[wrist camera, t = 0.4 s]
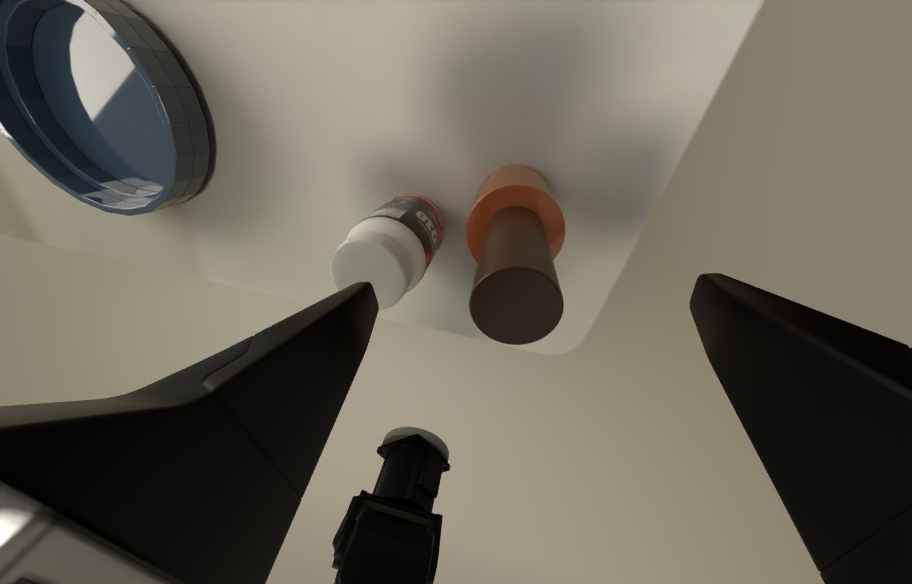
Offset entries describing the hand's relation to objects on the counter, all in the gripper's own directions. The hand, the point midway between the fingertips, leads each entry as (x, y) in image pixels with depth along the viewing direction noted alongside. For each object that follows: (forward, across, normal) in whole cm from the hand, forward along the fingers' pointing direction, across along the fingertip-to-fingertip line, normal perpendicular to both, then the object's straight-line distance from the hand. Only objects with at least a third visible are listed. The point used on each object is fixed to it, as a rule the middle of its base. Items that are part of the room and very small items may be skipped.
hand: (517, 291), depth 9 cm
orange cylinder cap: (+14, 0, +2) cm, 14 cm away
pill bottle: (+14, +8, +3) cm, 16 cm away
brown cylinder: (+4, 0, +1) cm, 4 cm away
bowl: (+13, +27, -7) cm, 31 cm away
